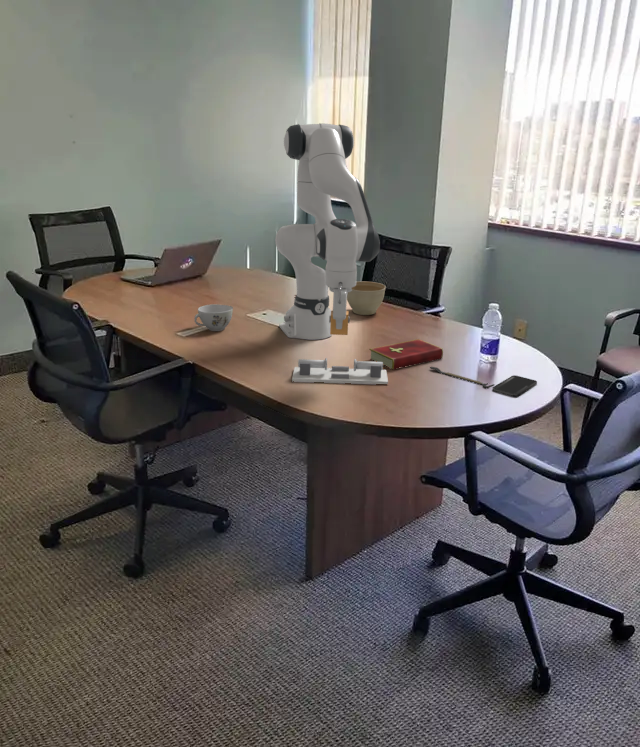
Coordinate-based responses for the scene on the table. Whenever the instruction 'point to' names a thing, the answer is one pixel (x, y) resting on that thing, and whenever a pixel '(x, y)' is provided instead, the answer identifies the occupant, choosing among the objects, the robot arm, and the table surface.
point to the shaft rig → (340, 372)
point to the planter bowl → (366, 297)
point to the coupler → (344, 325)
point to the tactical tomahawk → (461, 377)
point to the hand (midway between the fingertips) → (339, 325)
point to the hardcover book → (406, 353)
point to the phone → (514, 386)
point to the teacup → (214, 316)
